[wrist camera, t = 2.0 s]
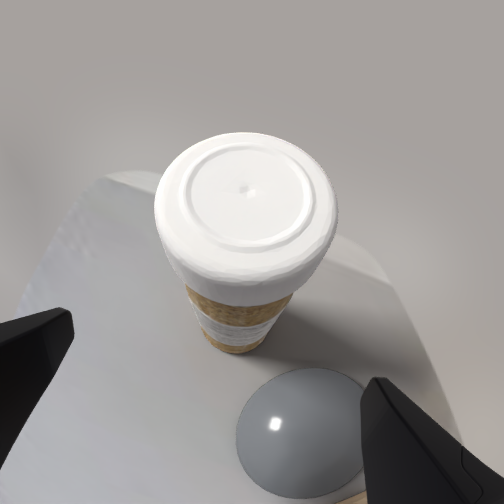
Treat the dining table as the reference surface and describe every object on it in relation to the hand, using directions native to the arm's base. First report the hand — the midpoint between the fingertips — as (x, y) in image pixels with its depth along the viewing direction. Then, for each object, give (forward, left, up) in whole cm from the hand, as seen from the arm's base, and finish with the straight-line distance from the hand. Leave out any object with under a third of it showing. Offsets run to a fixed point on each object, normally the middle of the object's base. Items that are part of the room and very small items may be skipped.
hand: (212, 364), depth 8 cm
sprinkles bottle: (+4, -1, -11) cm, 12 cm away
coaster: (-4, -5, -11) cm, 13 cm away
